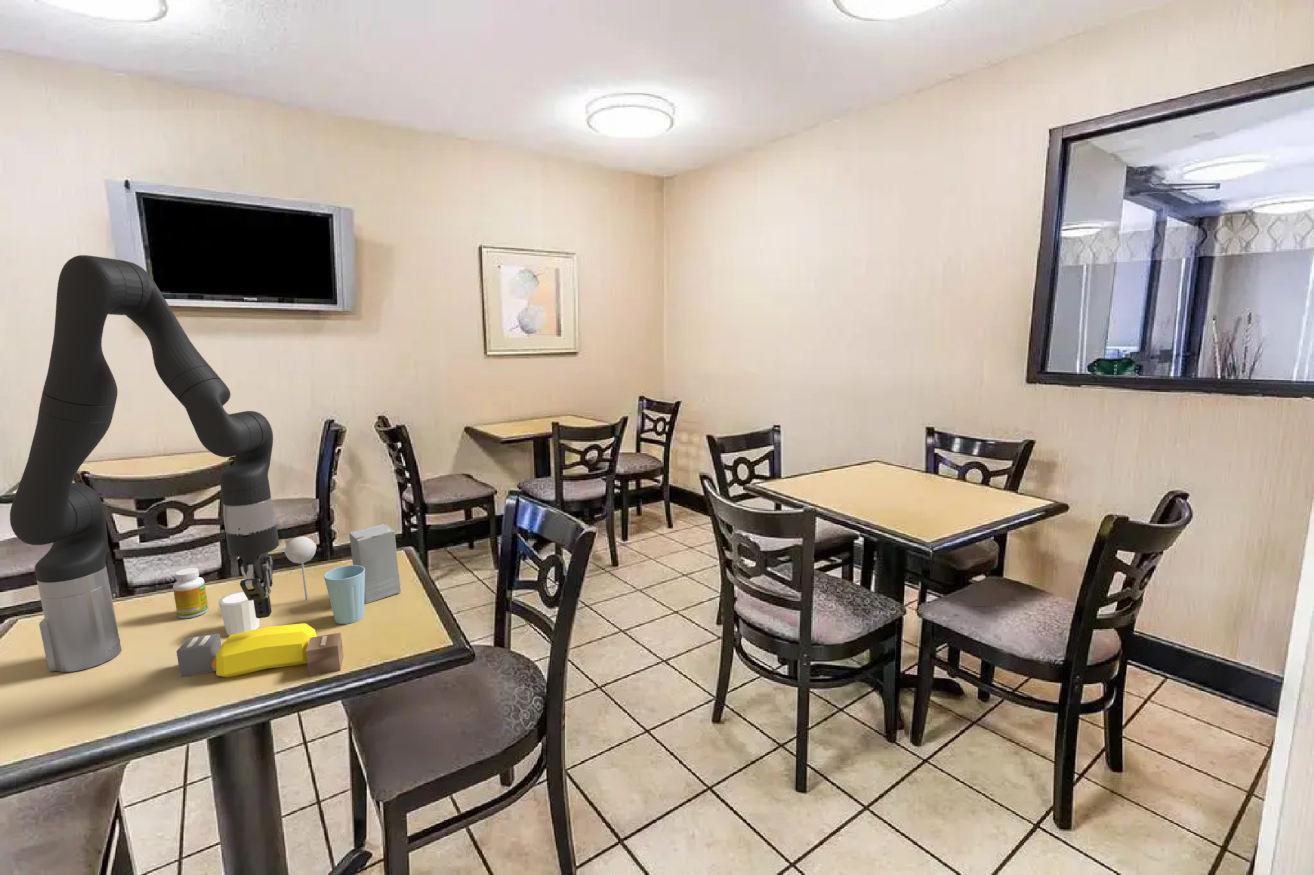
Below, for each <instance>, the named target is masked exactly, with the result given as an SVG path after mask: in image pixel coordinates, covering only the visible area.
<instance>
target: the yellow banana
mask: <svg viewBox="0 0 1314 875" xmlns="http://www.w3.org/2000/svg"><path fill="white" fill-rule="evenodd" d="M311 637H317V633H316V629H315V628H313V627H312V626H310V625H309V624H307V622H305V623H295V624H284V625H273V626H272V625H271V626H265V627H261V628H257V629H256V630H251V631H246V632H242V633H237V634H233V635H228V637H227V638H226V639H225V641H224V642H223V643H221V648H220V649H219V651H218V652H217V654H216V658H214V659H213V661H212V664H211V666H212V668H213V670H214V672H215V671H216V672H215V673H216V674H215V675H216V676H218V677H223V678H233V677H236V676H240V675H245V674H251V673H255V672H259V671H263V670H266V669H267V670H268V669H276V668H285V667H292V666H299V665H305V664H306V665H307V656H306V649H307V646H308V643H309V640H310V638H311Z"/></svg>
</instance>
